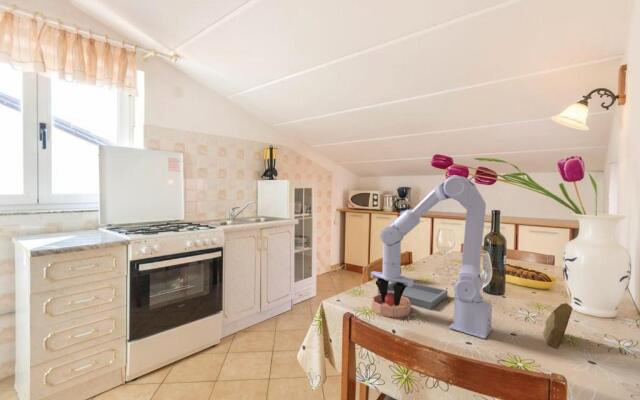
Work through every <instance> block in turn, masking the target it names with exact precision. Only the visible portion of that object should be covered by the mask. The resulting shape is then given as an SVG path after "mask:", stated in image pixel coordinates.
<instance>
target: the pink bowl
mask: <svg viewBox="0 0 640 400" xmlns="http://www.w3.org/2000/svg"><path fill="white" fill-rule="evenodd" d="M387 294H388V293H387ZM411 306H412V304H411V303H410V301H409V299H408V298H405V297H403V296H401V300H400V304H399V305H398V306H395V304H394V305H388V304H387V303H386V302H382V298H381V294H378V293H377V294H375V295H373V296H371V310H372V312H374V313H375V314H377V315H380V316H383V317H386V318H396V319H397V318H403V317H407V316H408V315H409V314H410V311H411V310H412V309H411Z"/></svg>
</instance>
